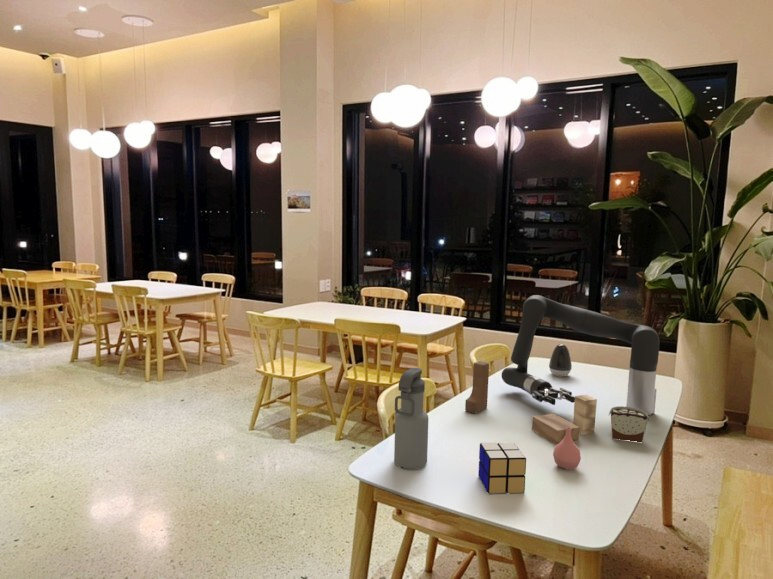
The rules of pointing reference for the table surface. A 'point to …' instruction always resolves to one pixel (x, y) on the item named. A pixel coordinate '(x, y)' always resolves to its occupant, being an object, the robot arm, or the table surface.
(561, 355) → the grey egg shape
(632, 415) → the food container
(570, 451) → the pink vase
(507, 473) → the puzzle cube
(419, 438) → the water bottle
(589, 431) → the oak post
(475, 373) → the wooden block
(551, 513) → the table surface
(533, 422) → the base block
